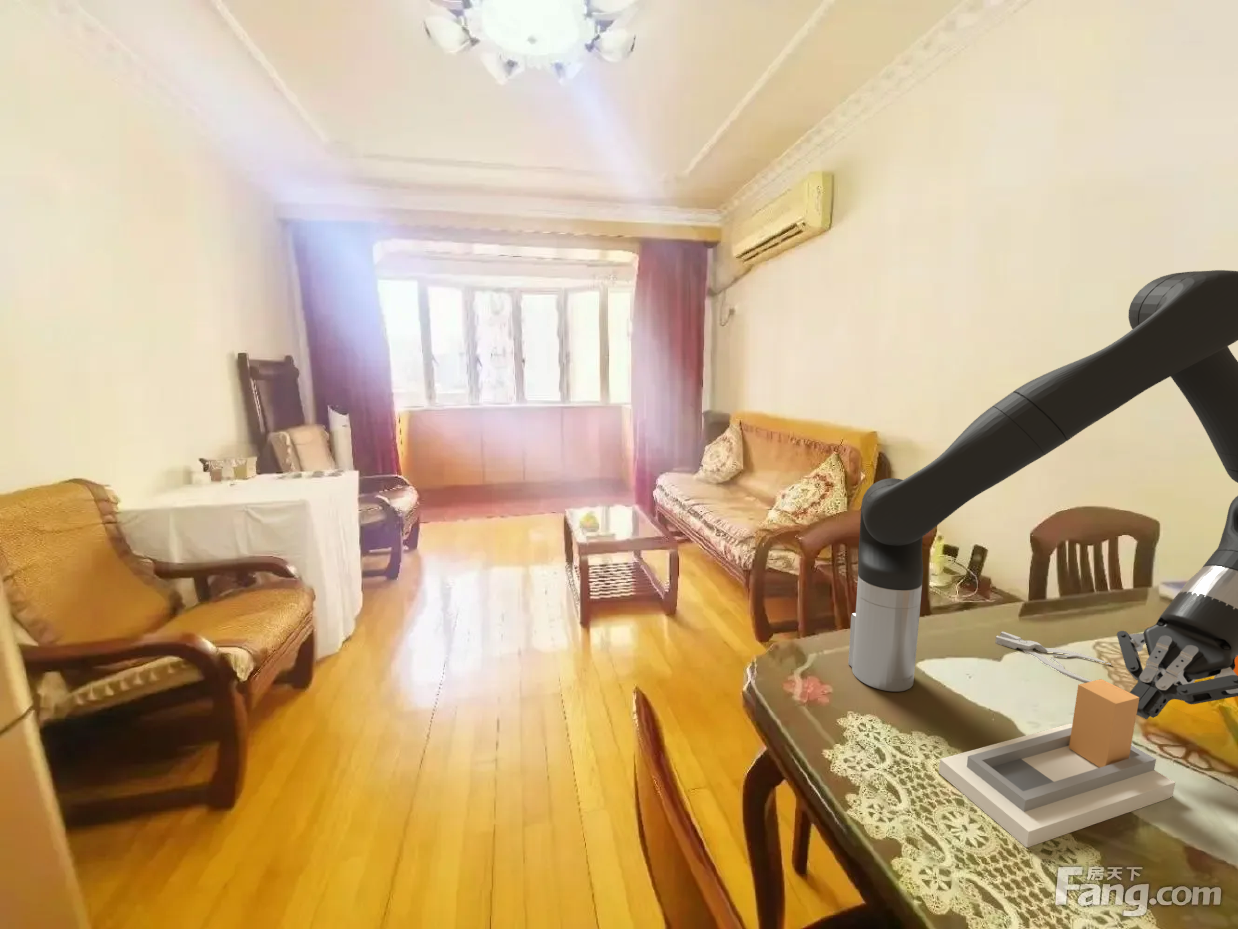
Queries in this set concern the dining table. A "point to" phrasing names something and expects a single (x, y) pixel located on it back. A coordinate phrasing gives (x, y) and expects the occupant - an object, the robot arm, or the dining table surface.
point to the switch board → (1052, 785)
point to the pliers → (1028, 647)
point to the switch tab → (1103, 722)
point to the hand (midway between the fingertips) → (1136, 712)
